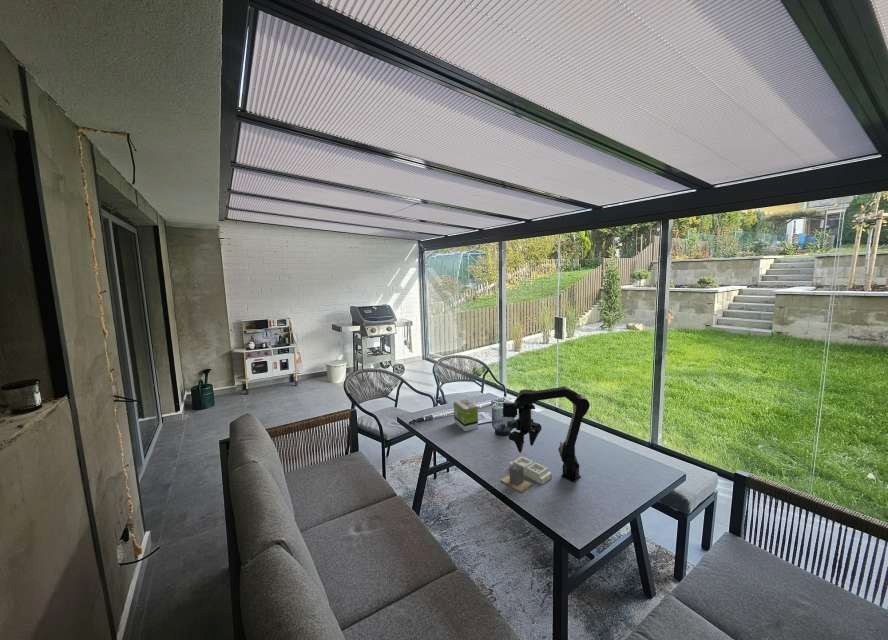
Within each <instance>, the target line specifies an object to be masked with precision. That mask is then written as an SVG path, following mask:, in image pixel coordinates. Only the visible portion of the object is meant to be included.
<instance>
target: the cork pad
mask: <svg viewBox="0 0 888 640" xmlns="http://www.w3.org/2000/svg"><path fill="white" fill-rule="evenodd" d="M500 482H502V483H504V484H505V485H507V486H509V487H511V488H512V489H514V490H516V491H518V492H520V494H521V493H523V492H525V491H527V490H528V489H529V488H531V487H532V486H533V485H534V484H533V483H532V482H530V481H528V480H526V479H524V478H523V482H522V483H521V484H519V485H518V486H517V485H515V484H513V483H511V482H510V473H509V474H507V475H506V476H504V477H503V478H501V479H500Z"/></svg>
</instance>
